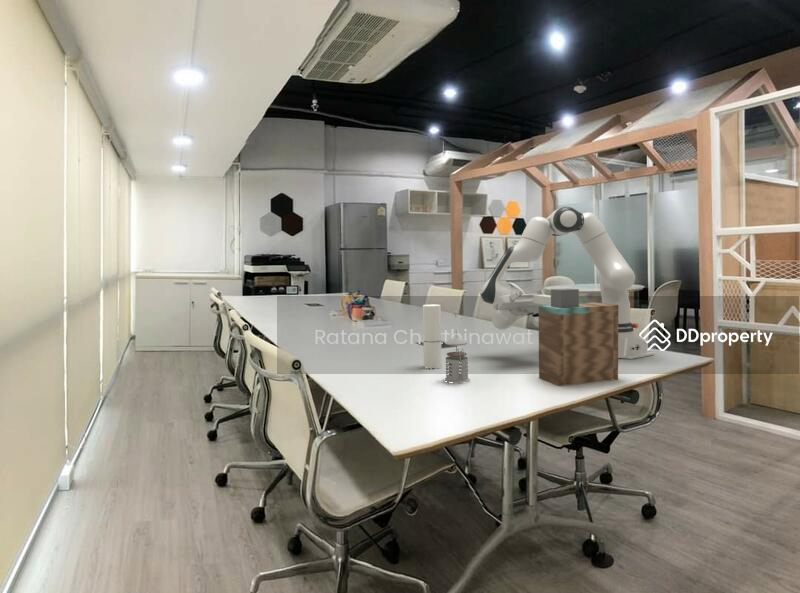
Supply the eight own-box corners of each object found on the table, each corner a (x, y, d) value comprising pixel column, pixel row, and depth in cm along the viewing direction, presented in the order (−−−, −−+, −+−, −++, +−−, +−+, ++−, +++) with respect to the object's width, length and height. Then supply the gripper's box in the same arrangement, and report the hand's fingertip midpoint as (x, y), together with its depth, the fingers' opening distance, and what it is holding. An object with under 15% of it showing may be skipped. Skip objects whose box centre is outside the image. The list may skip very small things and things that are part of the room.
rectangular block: (546, 302, 199) (545, 286, 198) (578, 306, 180) (578, 289, 179) (529, 303, 197) (529, 287, 196) (561, 307, 178) (561, 290, 177)
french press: (465, 376, 195) (464, 309, 193) (476, 383, 183) (475, 312, 181) (439, 378, 192) (438, 310, 190) (449, 385, 181) (448, 313, 179)
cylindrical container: (441, 365, 215) (440, 304, 213) (441, 369, 208) (440, 306, 206) (424, 365, 216) (423, 304, 214) (423, 369, 208) (422, 306, 207)
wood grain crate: (595, 372, 196) (595, 302, 194) (618, 379, 184) (618, 305, 182) (539, 378, 188) (538, 305, 186) (558, 385, 177) (558, 308, 175)
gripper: (489, 302, 212) (504, 286, 201) (534, 299, 219) (550, 284, 207) (493, 316, 210) (508, 301, 198) (538, 313, 216) (555, 298, 204)
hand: (530, 292), depth 202 cm, fingers open, 8 cm apart
